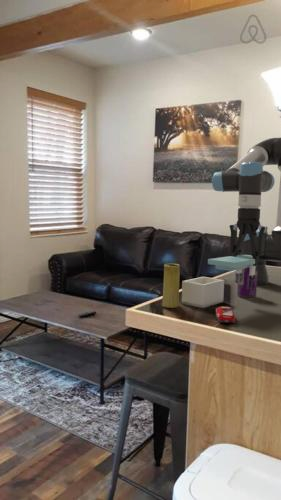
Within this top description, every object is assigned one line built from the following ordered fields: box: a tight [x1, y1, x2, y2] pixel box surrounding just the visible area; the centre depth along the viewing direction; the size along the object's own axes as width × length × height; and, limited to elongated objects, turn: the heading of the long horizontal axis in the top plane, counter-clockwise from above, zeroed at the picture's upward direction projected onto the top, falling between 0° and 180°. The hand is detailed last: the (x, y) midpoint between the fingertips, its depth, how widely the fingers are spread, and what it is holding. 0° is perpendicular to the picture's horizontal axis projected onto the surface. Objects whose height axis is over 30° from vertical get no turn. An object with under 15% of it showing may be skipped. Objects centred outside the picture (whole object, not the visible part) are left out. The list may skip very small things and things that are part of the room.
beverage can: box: [236, 265, 258, 299], centre depth 156 cm, size 7×7×12 cm
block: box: [207, 255, 255, 272], centre depth 138 cm, size 20×10×3 cm, turn 137°
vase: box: [161, 263, 181, 309], centre depth 139 cm, size 6×6×14 cm
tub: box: [181, 276, 225, 309], centre depth 144 cm, size 13×9×8 cm
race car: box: [215, 306, 236, 324], centre depth 125 cm, size 13×5×4 cm, turn 172°
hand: (245, 273), depth 143 cm, fingers closed on block, 4 cm apart
